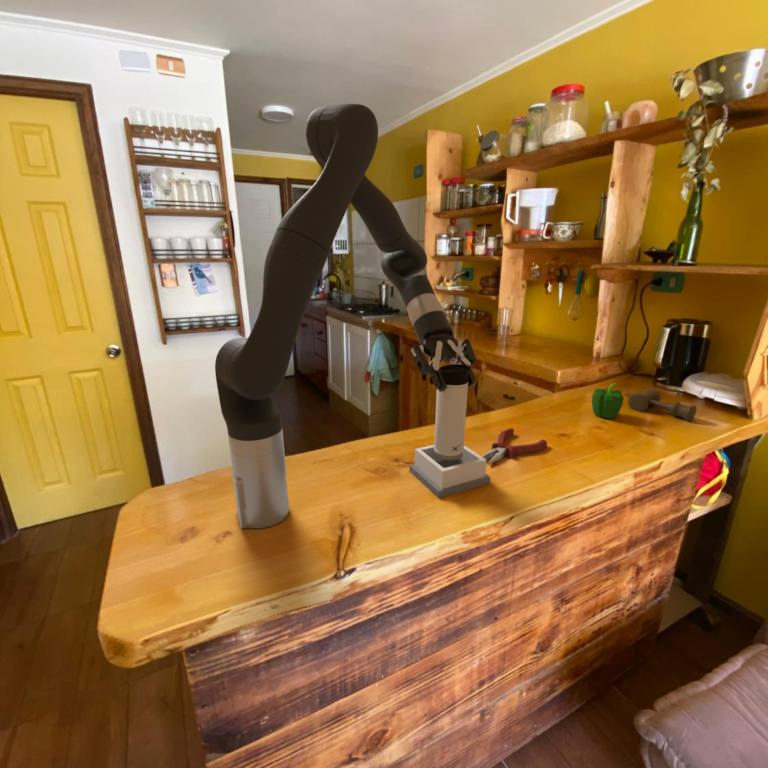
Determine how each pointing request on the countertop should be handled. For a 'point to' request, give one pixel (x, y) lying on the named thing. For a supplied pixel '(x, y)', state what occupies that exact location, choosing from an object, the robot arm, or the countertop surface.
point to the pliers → (511, 448)
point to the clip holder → (449, 471)
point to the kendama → (659, 404)
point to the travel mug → (451, 412)
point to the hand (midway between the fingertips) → (457, 387)
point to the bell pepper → (607, 402)
